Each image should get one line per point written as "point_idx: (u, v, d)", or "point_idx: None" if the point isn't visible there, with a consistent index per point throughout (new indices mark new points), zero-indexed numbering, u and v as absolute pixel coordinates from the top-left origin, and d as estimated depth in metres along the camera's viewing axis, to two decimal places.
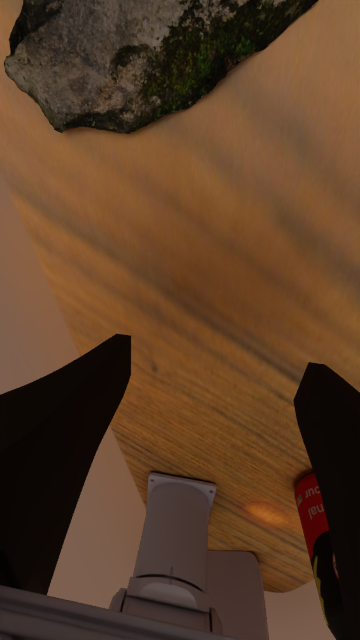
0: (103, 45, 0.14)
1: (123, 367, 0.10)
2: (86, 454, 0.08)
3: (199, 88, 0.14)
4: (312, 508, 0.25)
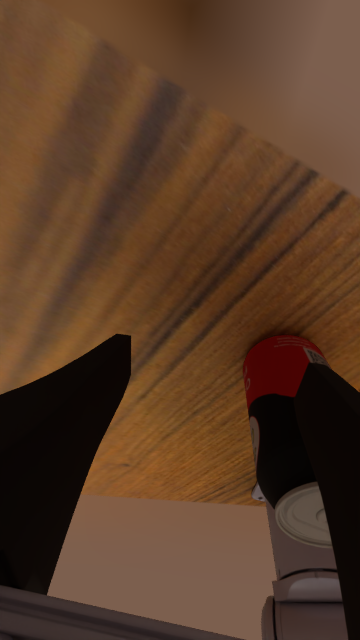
0: None
1: (123, 367, 0.10)
2: (86, 454, 0.08)
3: None
4: None
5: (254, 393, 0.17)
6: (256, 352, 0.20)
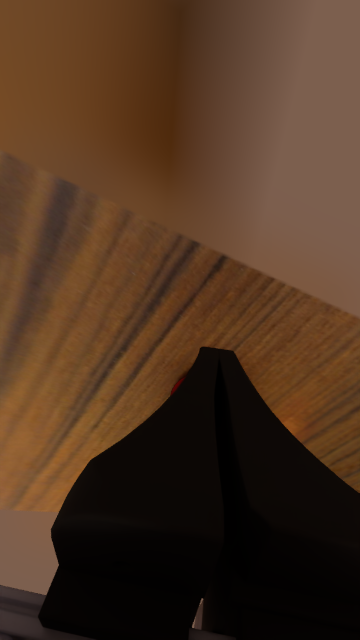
0: None
1: None
2: None
3: None
4: None
5: None
6: None
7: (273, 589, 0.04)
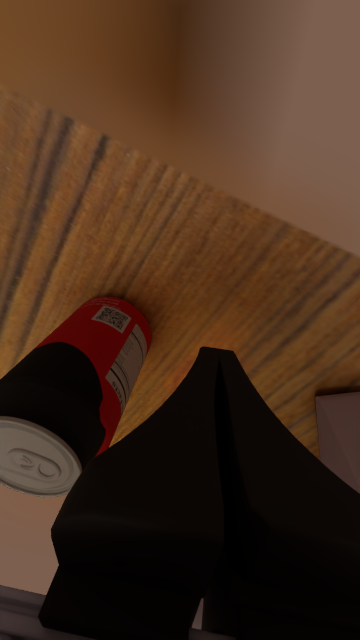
0: None
1: None
2: None
3: None
4: None
5: None
6: None
7: (273, 589, 0.04)
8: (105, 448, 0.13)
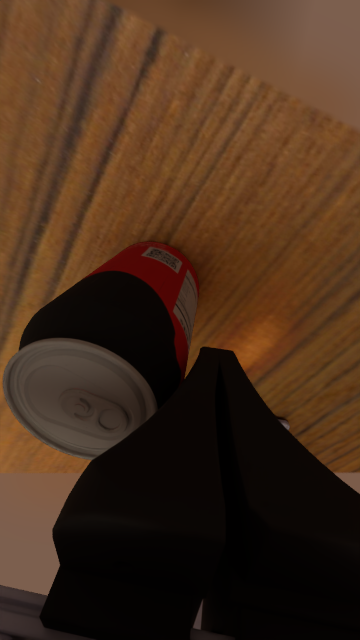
0: None
1: None
2: None
3: None
4: None
5: None
6: None
7: (272, 589, 0.04)
8: None
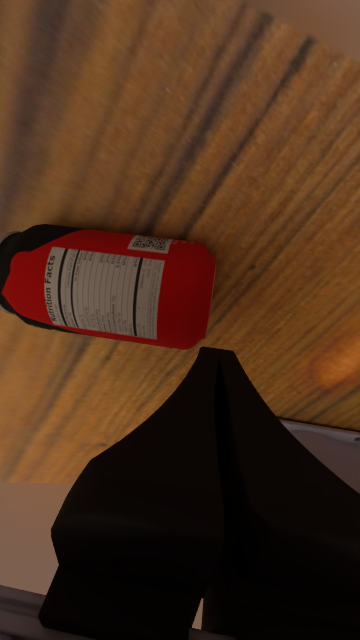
0: None
1: None
2: None
3: None
4: None
5: None
6: None
7: (273, 589, 0.04)
8: (8, 292, 0.14)
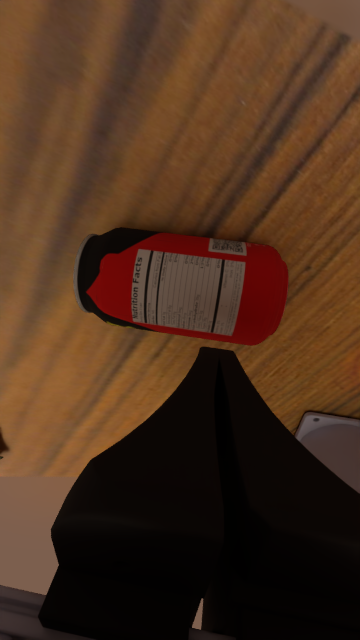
0: None
1: None
2: None
3: None
4: None
5: None
6: None
7: (273, 589, 0.04)
8: (96, 292, 0.15)
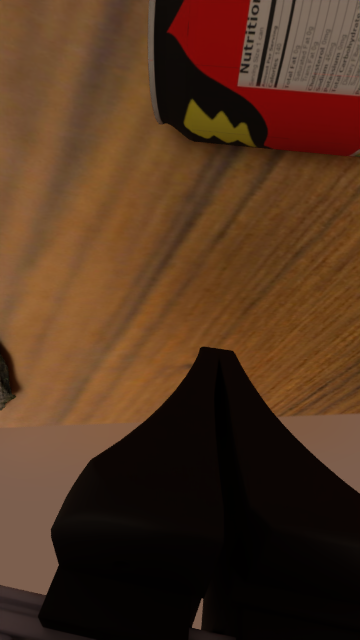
0: None
1: None
2: None
3: None
4: None
5: None
6: None
7: (273, 589, 0.04)
8: (189, 14, 0.09)
